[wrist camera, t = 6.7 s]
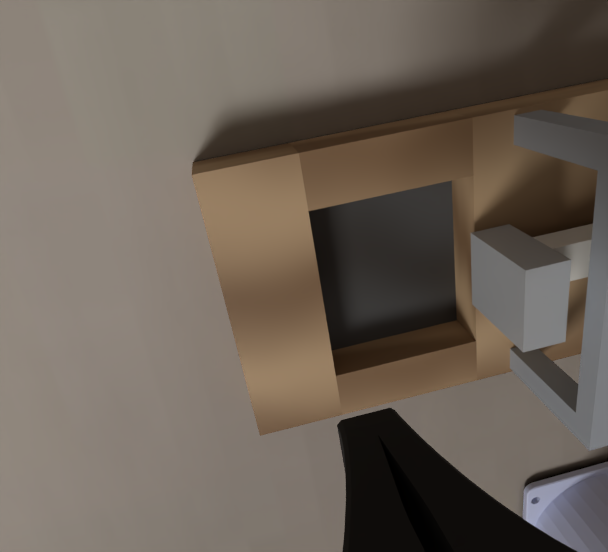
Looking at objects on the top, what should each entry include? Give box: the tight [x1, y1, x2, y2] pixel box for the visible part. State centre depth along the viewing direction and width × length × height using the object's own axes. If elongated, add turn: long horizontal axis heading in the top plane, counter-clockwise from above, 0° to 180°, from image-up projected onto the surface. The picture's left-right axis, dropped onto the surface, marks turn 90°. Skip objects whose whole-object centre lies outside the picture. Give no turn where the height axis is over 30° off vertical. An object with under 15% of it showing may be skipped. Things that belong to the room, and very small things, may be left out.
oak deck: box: [192, 79, 608, 436], centre depth 21 cm, size 11×28×2 cm, turn 99°
